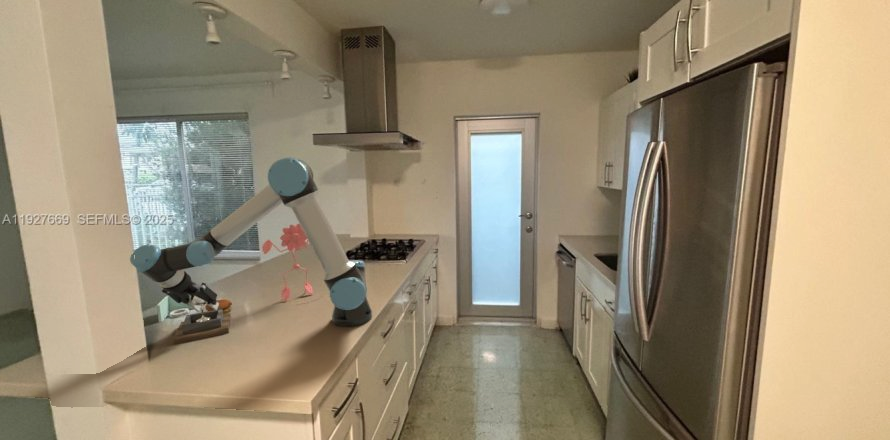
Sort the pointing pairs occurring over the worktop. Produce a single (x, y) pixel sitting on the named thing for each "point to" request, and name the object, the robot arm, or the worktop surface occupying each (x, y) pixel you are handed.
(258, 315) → the worktop surface
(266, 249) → the figurine
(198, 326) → the socket base
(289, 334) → the worktop surface
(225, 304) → the burger
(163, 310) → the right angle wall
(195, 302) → the wineglass
